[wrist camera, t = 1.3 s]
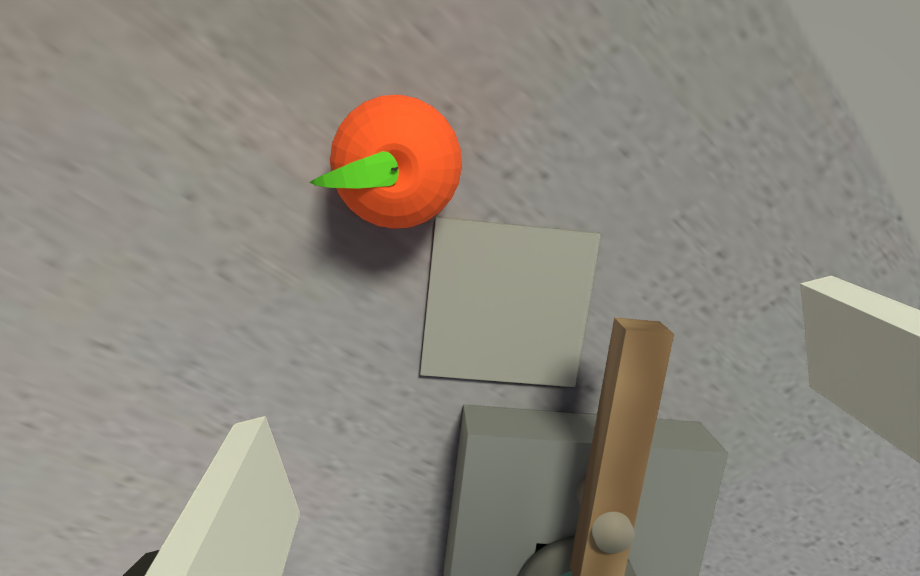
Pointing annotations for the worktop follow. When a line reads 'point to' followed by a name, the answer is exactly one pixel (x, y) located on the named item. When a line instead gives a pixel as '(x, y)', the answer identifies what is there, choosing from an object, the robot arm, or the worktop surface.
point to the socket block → (573, 491)
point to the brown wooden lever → (620, 446)
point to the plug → (556, 560)
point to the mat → (507, 302)
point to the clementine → (394, 161)
